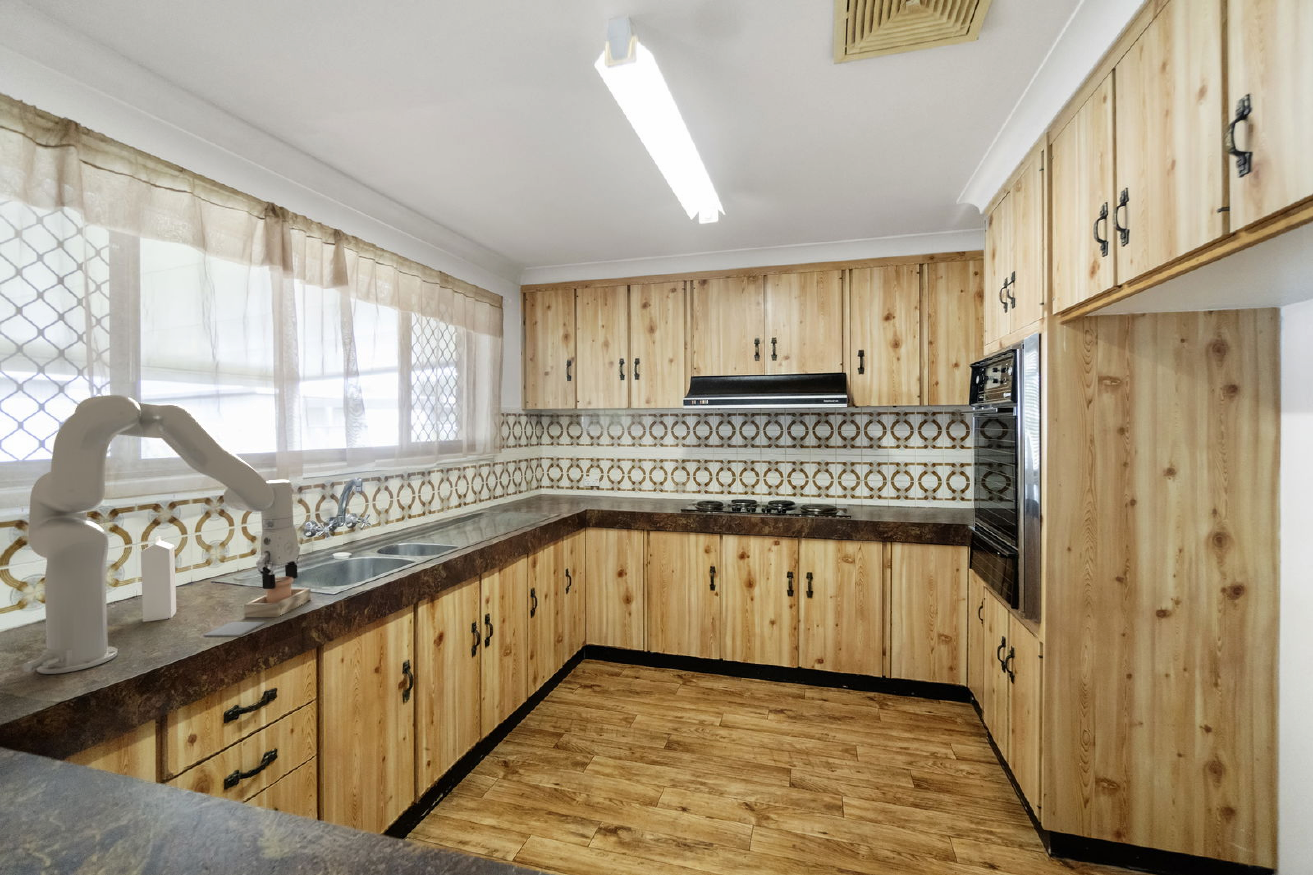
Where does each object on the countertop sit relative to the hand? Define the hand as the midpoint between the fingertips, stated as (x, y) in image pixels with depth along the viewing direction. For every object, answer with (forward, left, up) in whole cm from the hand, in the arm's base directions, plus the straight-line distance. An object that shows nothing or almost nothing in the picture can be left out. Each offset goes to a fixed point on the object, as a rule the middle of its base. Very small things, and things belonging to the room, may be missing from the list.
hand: (280, 583), depth 165 cm
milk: (-8, +28, -7) cm, 30 cm away
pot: (-1, 0, -7) cm, 7 cm away
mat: (-18, 0, -7) cm, 19 cm away
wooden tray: (-1, 0, -7) cm, 7 cm away
